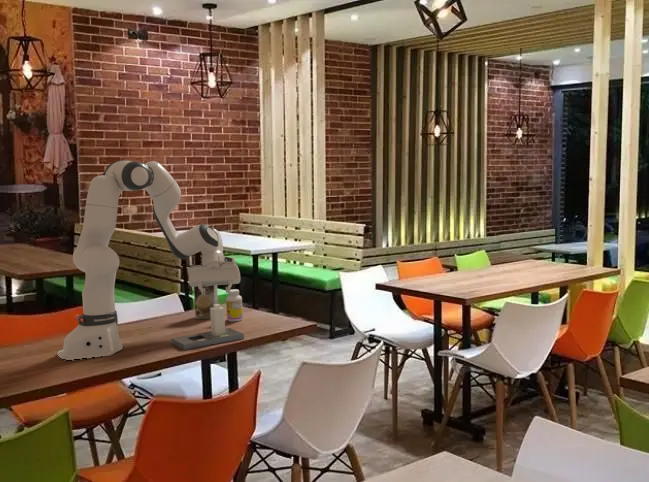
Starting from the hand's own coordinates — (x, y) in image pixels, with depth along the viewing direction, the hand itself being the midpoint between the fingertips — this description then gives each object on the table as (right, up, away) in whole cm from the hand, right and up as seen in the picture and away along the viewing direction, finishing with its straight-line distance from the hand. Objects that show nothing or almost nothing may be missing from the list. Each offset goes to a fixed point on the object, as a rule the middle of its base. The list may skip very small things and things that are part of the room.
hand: (215, 292), depth 275 cm
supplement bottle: (+4, -14, +24) cm, 28 cm away
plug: (+2, -17, -7) cm, 19 cm away
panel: (-1, -18, -10) cm, 20 cm away
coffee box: (-8, -13, +31) cm, 35 cm away
